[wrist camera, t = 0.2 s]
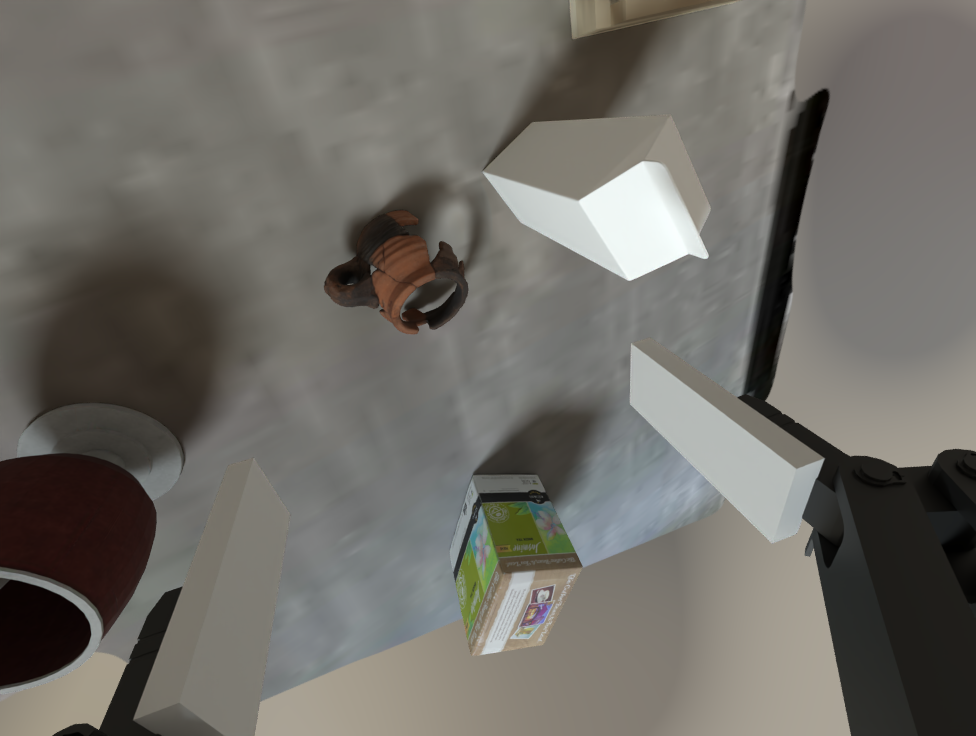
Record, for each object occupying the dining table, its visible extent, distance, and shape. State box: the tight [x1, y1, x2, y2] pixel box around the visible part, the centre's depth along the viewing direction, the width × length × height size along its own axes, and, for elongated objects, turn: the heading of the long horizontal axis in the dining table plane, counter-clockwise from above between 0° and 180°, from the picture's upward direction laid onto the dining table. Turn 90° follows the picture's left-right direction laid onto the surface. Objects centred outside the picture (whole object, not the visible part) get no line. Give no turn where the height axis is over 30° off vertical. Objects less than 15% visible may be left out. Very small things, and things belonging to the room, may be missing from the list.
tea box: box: [449, 475, 583, 656], centre depth 53 cm, size 15×10×15 cm
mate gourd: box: [0, 403, 184, 695], centre depth 31 cm, size 16×14×20 cm
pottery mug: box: [324, 210, 468, 334], centre depth 37 cm, size 12×10×8 cm
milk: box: [483, 115, 711, 281], centre depth 29 cm, size 6×6×22 cm
